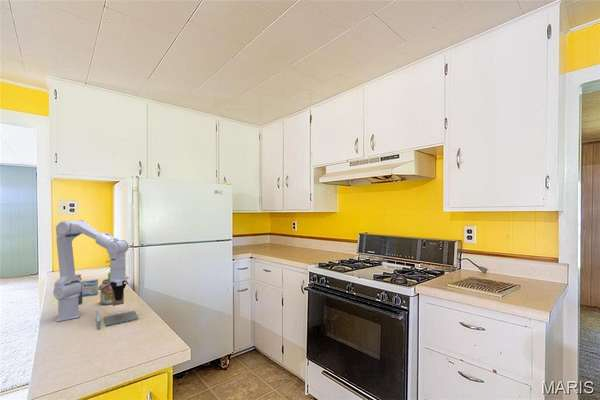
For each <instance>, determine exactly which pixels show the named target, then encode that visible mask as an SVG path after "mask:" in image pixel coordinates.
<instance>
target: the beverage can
mask: <svg viewBox="0 0 600 400" xmlns="http://www.w3.org/2000/svg"><path fill="white" fill-rule="evenodd" d="M101 282H102V283H101V284H100V285H98V291H100V304H101V305H102V306H109V305H113V304H112V290H113V289H112V287H111V284H110V283H111V281H110V279H108V278H106V279H103V280H102V281H101Z"/></svg>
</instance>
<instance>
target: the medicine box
mask: <svg viewBox="0 0 600 400" xmlns="http://www.w3.org/2000/svg"><path fill="white" fill-rule="evenodd" d="M81 282H82V284H83V290H82V298H85V297H93V296H97V295H98V294H99V290H98V287H99V279H98V278H95V279H87V280H86V279H84V280H81Z"/></svg>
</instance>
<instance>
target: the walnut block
mask: <svg viewBox="0 0 600 400" xmlns="http://www.w3.org/2000/svg"><path fill="white" fill-rule="evenodd" d="M124 303H125V291H123V295H122V299H121V300H119V301H116V300H115V295H114V291H113V290H112V304H111V305H112V306H119V305H124Z"/></svg>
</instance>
